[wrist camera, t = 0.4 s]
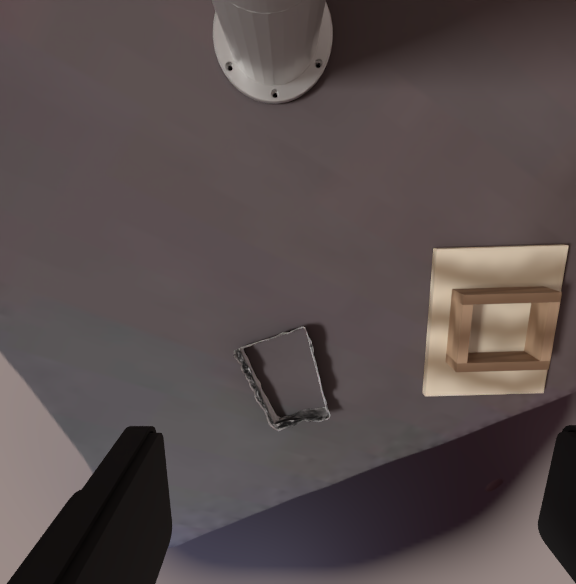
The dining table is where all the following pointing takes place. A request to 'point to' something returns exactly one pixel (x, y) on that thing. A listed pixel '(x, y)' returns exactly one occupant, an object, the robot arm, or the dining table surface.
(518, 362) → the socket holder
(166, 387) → the dining table surface
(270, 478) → the dining table surface
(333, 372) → the dining table surface
